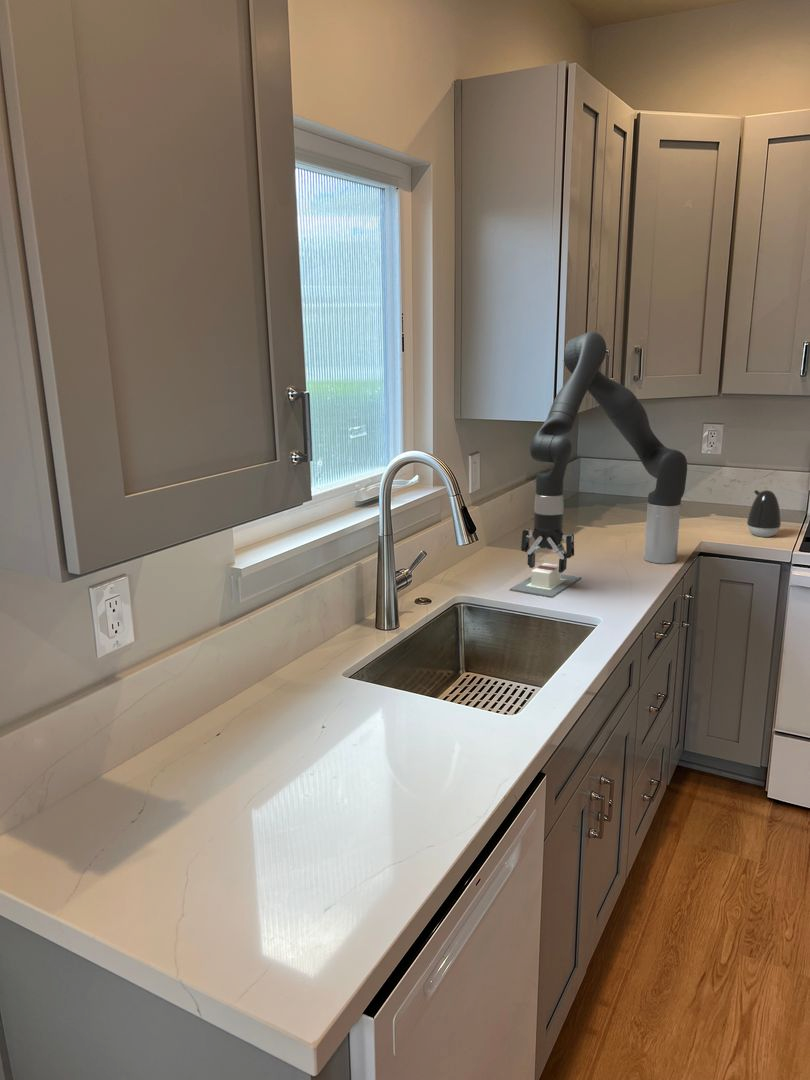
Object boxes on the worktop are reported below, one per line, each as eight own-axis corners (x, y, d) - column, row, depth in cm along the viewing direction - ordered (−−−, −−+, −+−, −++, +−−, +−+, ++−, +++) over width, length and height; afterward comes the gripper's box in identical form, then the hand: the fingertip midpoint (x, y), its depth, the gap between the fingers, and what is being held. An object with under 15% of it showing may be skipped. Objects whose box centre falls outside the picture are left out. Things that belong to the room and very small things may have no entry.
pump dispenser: (763, 530, 271) (767, 486, 268) (786, 537, 262) (791, 492, 258) (738, 533, 268) (743, 488, 265) (761, 540, 259) (766, 494, 255)
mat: (540, 571, 226) (540, 570, 226) (581, 578, 220) (581, 576, 220) (509, 590, 210) (509, 588, 210) (552, 597, 204) (552, 595, 204)
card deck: (530, 585, 212) (531, 570, 211) (543, 576, 220) (544, 562, 219) (548, 588, 210) (549, 573, 209) (560, 579, 217) (561, 565, 216)
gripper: (517, 510, 211) (516, 569, 215) (568, 516, 203) (566, 577, 207) (529, 505, 217) (528, 562, 221) (579, 511, 209) (577, 570, 213)
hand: (546, 569), depth 214 cm, fingers open, 8 cm apart
